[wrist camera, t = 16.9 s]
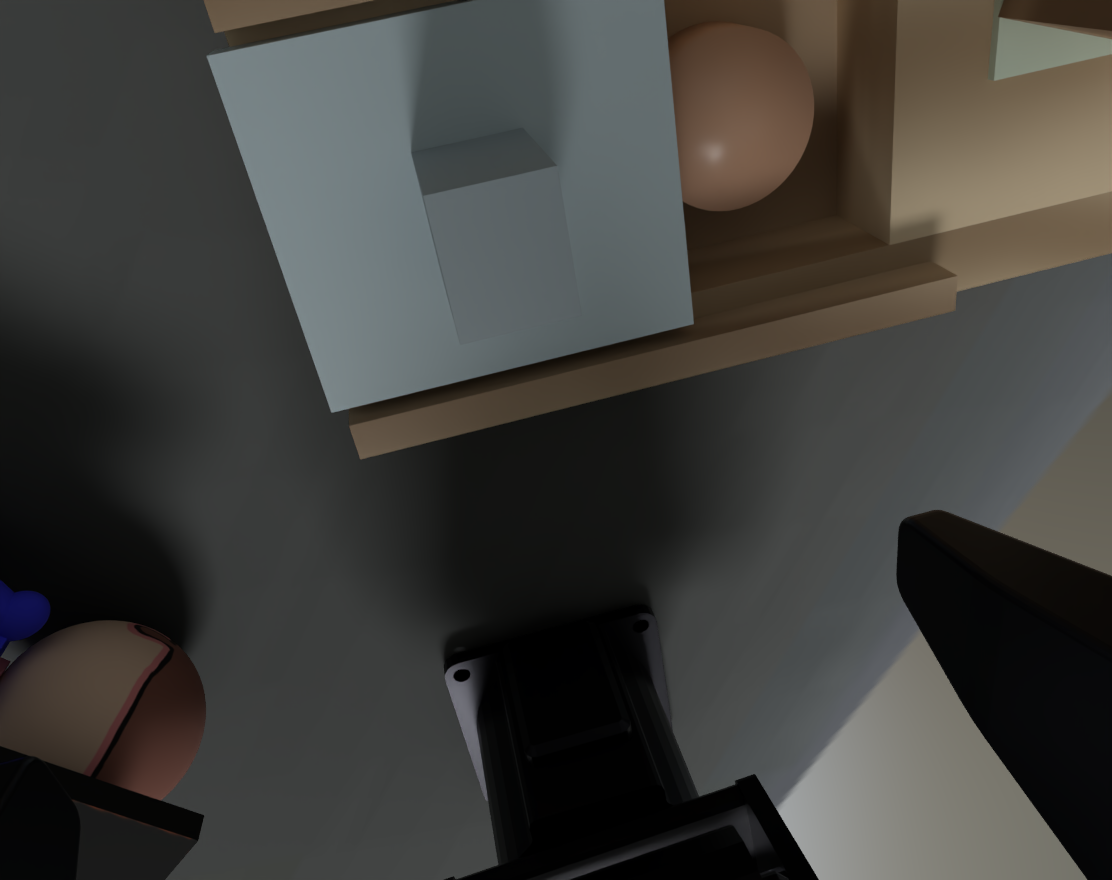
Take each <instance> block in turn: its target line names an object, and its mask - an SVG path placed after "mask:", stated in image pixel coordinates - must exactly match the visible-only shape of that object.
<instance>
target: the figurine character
mask: <svg viewBox="0 0 1112 880" xmlns="http://www.w3.org/2000/svg"><path fill="white" fill-rule="evenodd" d="M49 615H50V604H49V601H48V600H47V598H46V597H45V596H43V595H42V594H40V593H38V592H35V591H19V592H15V593H14V592H13V591H12V590H11V589H10V588H9V587H8V586H7V585H6V584H5V583H3V582H2V581H1V580H0V764H1V763H4V762H8V761H12V760H15V759H19V758H23V757H26V756H35V757H38V758H39V759H41V760H43V761H44V763H45V764H46V765H47V766H48V768H49V769H50V770H51V772H52V773H53V775H54V776H55V777H56V779H57V780H58V781H59V783H60V784H61V786H62V787H63V788H64V790H65V791H66V792H67V794H68V795H69V796H70V798H71V799H72V801H73V802H74V804H75V805H76V807H77V810H78V813H79V817H80V825H81V831H80V843H79V854H78V865H77V876H76V880H165V879H166V878H167V877H168V875H169V874H170V873H171V872H172V871H173V870H174V868H175V867H176V866H177V865H178V864H179V863H180V861H181V860H182V859H183V858H184V857H185V855H186V854H187V853H188V852H189V851H190V850H191V848H192V847H193V846H194V845H195V844H196V843H197V841H198V839H199V835H200V831H201V826H202V822H203V818H204V815H202V814H199V813H196V812H193V811H190V810H187V809H184V808H181V807H178V806H175V805H172V804H169V803H166V802H163V801H161V800H162V799H163V798H164V797H165V796H166V795H167V794H168V793H169V792H170V791H171V790H172V789H173V788H174V787H175V786H176V785H177V784H178V782H179V781H180V780H181V779H182V777H183V776H184V775H185V773H186V772H187V770H188V768H189V767H190V765H191V763H192V761H193V760H194V758H195V755H196V753H197V751H198V749H199V746H200V742H201V739H202V736H203V732H204V726H205V719H206V702H205V694H204V690H203V685H202V682H201V679H200V676H199V674H198V672H197V670H196V668H195V666H194V664H193V663H192V661H191V660H190V658H189V657H188V656H187V654H186V653H185V652H184V651H183V650H182V649H181V648H180V647H179V646H178V645H177V644H176V643H175V642H173V641H172V640H171V639H170V638H168V637H166V636H165V635H163V634H162V633H160V632H158V631H156V630H154V629H151V628H149V627H146V626H143V625H140V624H136V623H132V622H126V621H117V620H103V621H92V622H86V623H82V624H77V625H74V626H70V627H67V628H65V629H62V630H60V631H57V632H55V633H53V634H51V635H49V636H47V637H45V638H43V639H42V640H40V641H39V642H37V643H36V644H34V645H33V646H31V647H30V648H29V649H27V650H26V651H25V652H24V653H23V654H21V655H20V656H19V657H18V658H17V659H16V660H15V661H14V662H13V663H12V664H11V665H10V666H9V667H8V665H9V663H10V661H8V660H6V659H3V658H1V655H2V654H3V652H4V650H5V649H6V647H7V646H8V644H9V642H10V641H16V640H21V639H24V638H27V637H29V636H31V635H33V634H34V633H36V632H37V631H39V630H40V629H41V628H42V627H43V626H44V624H45V623H46V622H47V620H48V618H49ZM7 667H8V668H7ZM6 668H7V670H6ZM5 670H6V671H5ZM4 671H5V672H4Z"/></svg>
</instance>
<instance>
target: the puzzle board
mask: <svg viewBox="0 0 1112 880" xmlns="http://www.w3.org/2000/svg"><path fill="white" fill-rule="evenodd" d="M450 1H455V0H204V3H205V6H206V9H207V11H208V14H209V17H210V20H211V23H212V26H213V29H214V32H215V33H217V32H222V31H224V32H225V35H226V38H227V41H228V44H229V47H232V46H237V45H242V44H247V43H252V42H256V41H261V40H266V39H271V38H276V37H281V36H285V35H290V34H295V33H300V32H305V31H310V30H315V29H319V28H324V27H329V26H334V25H339V24H344V23H348V22H353V21H358V20H363V19H368V18H373V17H378V16H382V15H387V14H392V13H397V12H402V11H407V10H411V9H416V8H421V7H426V6H431V5H436V4H441V3H445V2H450ZM1003 1H1004V0H664V6H665V17H666V28H667V39H668V38H669V37H671V36H672V35H674V34H675V33H677V32H678V31H681V30H683V29H685V28H687V27H689V26H692V25H695V24H698V23H703V22H709V21H724V22H731V23H736V24H740V25H745V26H750V27H754V28H758V29H762V30H765V31H768V32H770V33H772V34H774V35H776V36H778V37H780V38H781V39H783V40H784V41H785V42H787V43H788V44H789V45H790V46H791V47H792V48H793V49H794V50H795V51H796V53H797V54H798V55H799V57H800V58H801V59H802V61H803V63H804V65H805V67H806V69H807V71H808V74H809V77H810V79H811V84H812V88H813V95H814V118H813V125H812V130H811V134H810V137H809V140H808V143H807V146H806V148H805V151H804V153H803V155H802V157H801V159H800V160H799V162H798V164H797V165H796V167H795V168H794V170H793V171H792V172H791V174H790V175H789V176H788V177H787V178H786V180H785V181H784V182H783V183H782V184H781V185H780V186H779V187H778V188H776V189H775V190H774V191H773V192H771V193H770V194H769V195H767V196H766V197H764V198H763V199H761V200H759V201H757V202H755V203H753V204H751V205H749V206H746V207H743V208H740V209H735V210H730V211H708V210H704V209H699V208H696V207H694V206H691V205H689V204H687V203H685V202H683V212H684V223H685V233H686V244H687V255H688V266H689V277H690V287H691V298H692V309H693V320H694V324H692V325H688V326H684V327H680V328H676V329H672V330H668V331H663V332H659V333H655V334H651V335H647V336H643V337H639V338H635V339H631V340H627V341H623V342H619V343H614V344H610V345H606V346H602V347H598V348H594V349H590V350H586V351H582V352H578V353H574V354H570V355H566V356H561V357H557V358H553V359H549V360H545V361H541V362H537V363H533V364H529V365H525V366H521V367H517V368H513V369H508V370H504V371H500V372H496V373H492V374H488V375H484V376H480V377H476V378H472V379H468V380H464V381H460V382H455V383H451V384H447V385H443V386H439V387H435V388H431V389H427V390H423V391H419V392H415V393H411V394H406V395H402V396H398V397H394V398H390V399H386V400H382V401H378V402H374V403H370V404H366V405H362V406H358V407H353V408H349V428H350V431H351V433H352V436H353V439H354V442H355V445H356V448H357V451H358V454H359V457H360V460H361V459H365V458H369V457H373V456H377V455H381V454H385V453H389V452H393V451H397V450H401V449H405V448H409V447H413V446H417V445H421V444H425V443H429V442H432V441H436V440H440V439H444V438H448V437H452V436H456V435H460V434H464V433H468V432H472V431H476V430H480V429H484V428H488V427H492V426H496V425H500V424H504V423H508V422H512V421H516V420H520V419H524V418H528V417H532V416H536V415H540V414H544V413H548V412H552V411H556V410H560V409H564V408H568V407H572V406H576V405H580V404H584V403H588V402H592V401H596V400H600V399H604V398H608V397H612V396H616V395H620V394H624V393H628V392H632V391H636V390H640V389H644V388H648V387H652V386H656V385H660V384H664V383H668V382H672V381H676V380H680V379H684V378H688V377H692V376H696V375H700V374H704V373H708V372H712V371H716V370H720V369H724V368H728V367H732V366H736V365H740V364H744V363H748V362H752V361H756V360H760V359H764V358H768V357H772V356H776V355H780V354H784V353H788V352H792V351H796V350H800V349H804V348H808V347H812V346H816V345H820V344H824V343H828V342H832V341H836V340H840V339H844V338H847V337H851V336H855V335H859V334H863V333H867V332H871V331H875V330H879V329H883V328H887V327H891V326H895V325H899V324H903V323H907V322H911V321H915V320H919V319H923V318H927V317H931V316H935V315H939V314H943V313H947V312H951V311H955V305H956V293H957V291H961V290H965V289H969V288H973V287H977V286H981V285H985V284H989V283H993V282H997V281H1001V280H1005V279H1009V278H1013V277H1017V276H1021V275H1025V274H1029V273H1033V272H1037V271H1041V270H1045V269H1049V268H1054V267H1058V266H1062V265H1066V264H1070V263H1074V262H1078V261H1082V260H1086V259H1090V258H1094V257H1098V256H1102V255H1106V254H1110V253H1112V39H1108V38H1102V37H1097V36H1092V35H1087V34H1082V33H1077V32H1072V31H1067V30H1062V29H1057V28H1051V27H1046V26H1041V25H1036V24H1031V23H1026V22H1021V21H1016V20H1011V19H1006V18H1000V17H998V15H999V12H1000V9H1001V7H1002V4H1003Z"/></svg>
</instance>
